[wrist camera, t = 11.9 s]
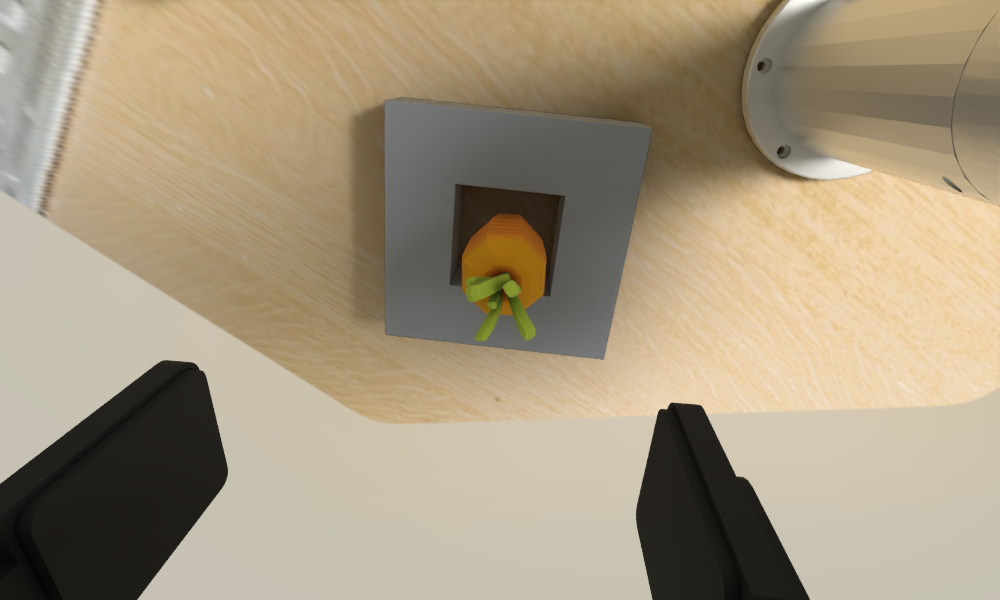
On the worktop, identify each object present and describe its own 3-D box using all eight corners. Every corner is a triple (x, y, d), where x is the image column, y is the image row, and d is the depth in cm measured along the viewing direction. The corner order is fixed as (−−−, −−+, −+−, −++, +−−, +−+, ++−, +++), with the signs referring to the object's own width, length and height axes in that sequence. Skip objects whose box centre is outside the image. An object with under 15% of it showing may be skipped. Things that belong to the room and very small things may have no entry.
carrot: (553, 244, 37) (566, 343, 23) (490, 265, 38) (468, 372, 24) (530, 181, 35) (531, 247, 21) (466, 205, 36) (427, 283, 22)
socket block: (639, 122, 33) (652, 128, 29) (597, 333, 40) (603, 359, 36) (401, 97, 33) (384, 100, 30) (398, 310, 40) (385, 334, 36)
